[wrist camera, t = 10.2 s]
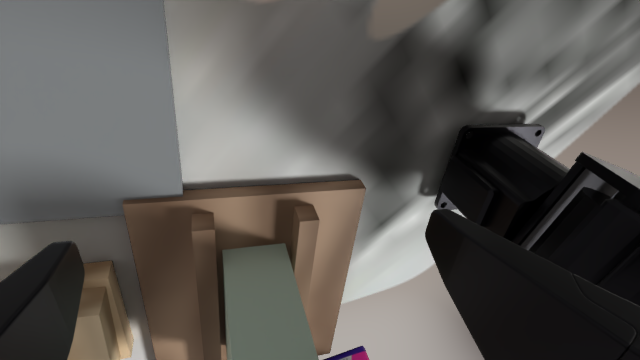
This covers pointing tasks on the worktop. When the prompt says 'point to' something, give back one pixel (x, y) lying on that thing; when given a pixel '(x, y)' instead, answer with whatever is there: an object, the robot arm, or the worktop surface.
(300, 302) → the sage green block
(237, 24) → the worktop surface
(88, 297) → the offcut upper
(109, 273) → the offcut lower
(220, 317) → the rack
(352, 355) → the supplement box
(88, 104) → the mat
